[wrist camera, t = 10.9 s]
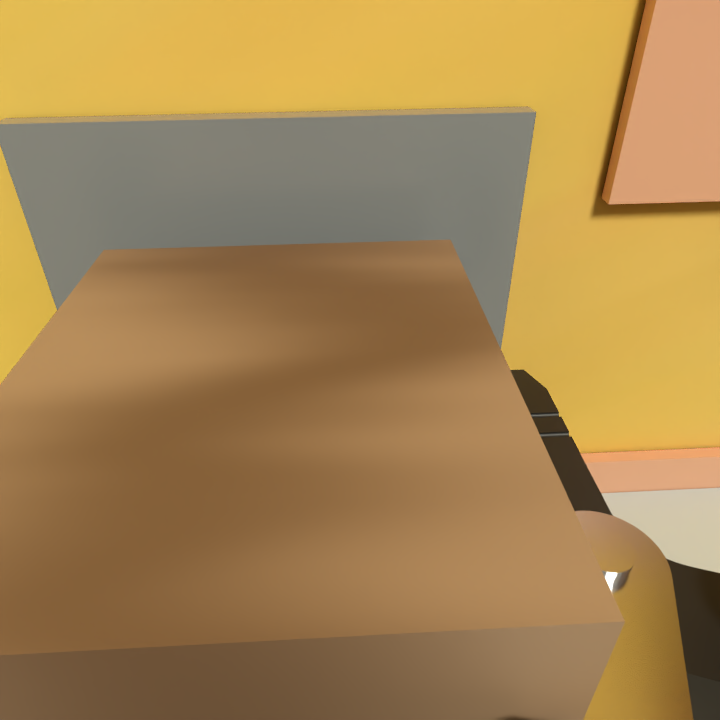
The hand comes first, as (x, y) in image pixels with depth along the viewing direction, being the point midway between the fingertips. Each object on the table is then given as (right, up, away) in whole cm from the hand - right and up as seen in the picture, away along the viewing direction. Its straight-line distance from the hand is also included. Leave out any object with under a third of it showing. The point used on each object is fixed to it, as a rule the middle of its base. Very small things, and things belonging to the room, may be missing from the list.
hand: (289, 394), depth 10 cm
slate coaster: (0, +1, +2) cm, 2 cm away
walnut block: (0, 0, 0) cm, 0 cm away
